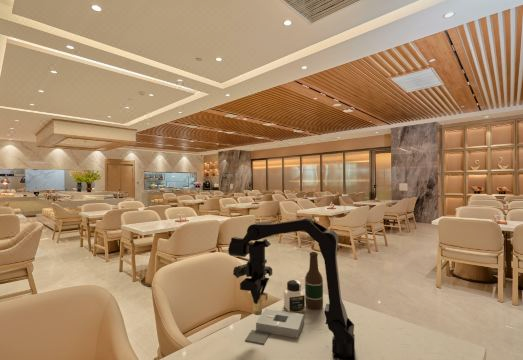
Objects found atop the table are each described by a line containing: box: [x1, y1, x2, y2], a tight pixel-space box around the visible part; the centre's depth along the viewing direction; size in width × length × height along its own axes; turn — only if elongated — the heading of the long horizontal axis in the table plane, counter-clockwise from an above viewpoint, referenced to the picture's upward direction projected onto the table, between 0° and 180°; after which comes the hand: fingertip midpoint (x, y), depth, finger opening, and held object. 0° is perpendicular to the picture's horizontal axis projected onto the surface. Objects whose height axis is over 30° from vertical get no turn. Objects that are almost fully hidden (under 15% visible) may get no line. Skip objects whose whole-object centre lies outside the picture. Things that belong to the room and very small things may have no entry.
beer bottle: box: [304, 251, 324, 311], centre depth 124 cm, size 8×8×24 cm
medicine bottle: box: [283, 279, 306, 313], centre depth 122 cm, size 7×7×12 cm
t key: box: [246, 291, 268, 316], centre depth 100 cm, size 3×7×7 cm, turn 71°
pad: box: [244, 329, 271, 345], centre depth 100 cm, size 7×7×1 cm
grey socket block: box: [255, 308, 305, 339], centre depth 108 cm, size 16×12×3 cm
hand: (257, 301), depth 100 cm, fingers closed on t key, 3 cm apart
